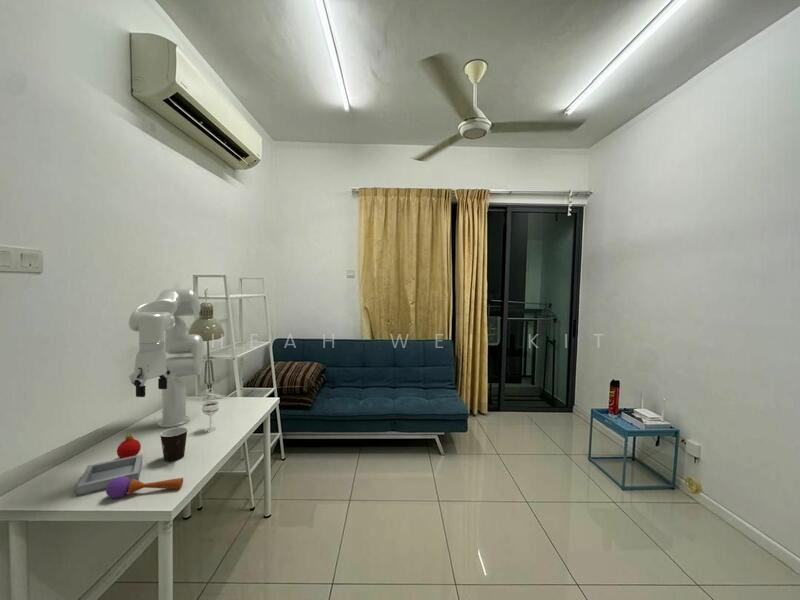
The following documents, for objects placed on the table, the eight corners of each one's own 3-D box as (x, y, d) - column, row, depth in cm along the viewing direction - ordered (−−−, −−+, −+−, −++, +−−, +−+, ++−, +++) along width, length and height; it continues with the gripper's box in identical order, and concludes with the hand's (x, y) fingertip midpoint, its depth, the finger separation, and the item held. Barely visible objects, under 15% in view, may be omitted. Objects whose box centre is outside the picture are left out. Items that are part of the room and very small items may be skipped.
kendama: (178, 481, 106) (101, 486, 100) (177, 498, 107) (102, 503, 101) (184, 468, 111) (112, 472, 106) (184, 484, 112) (113, 489, 107)
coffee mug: (164, 454, 131) (164, 428, 131) (189, 450, 134) (189, 425, 134) (154, 469, 120) (154, 441, 120) (182, 464, 123) (182, 438, 123)
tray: (88, 473, 116) (87, 465, 116) (142, 462, 124) (142, 454, 124) (77, 496, 104) (76, 486, 104) (138, 481, 112) (138, 472, 112)
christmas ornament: (145, 455, 129) (145, 430, 129) (124, 464, 123) (124, 437, 123) (133, 452, 132) (133, 427, 132) (112, 460, 125) (112, 434, 125)
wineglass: (210, 425, 159) (210, 400, 158) (222, 427, 157) (222, 401, 157) (198, 431, 152) (198, 405, 152) (210, 433, 150) (210, 406, 150)
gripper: (161, 343, 133) (161, 385, 134) (120, 350, 116) (121, 399, 117) (179, 343, 133) (179, 386, 133) (140, 351, 115) (140, 400, 116)
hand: (152, 392), depth 125 cm, fingers open, 9 cm apart
